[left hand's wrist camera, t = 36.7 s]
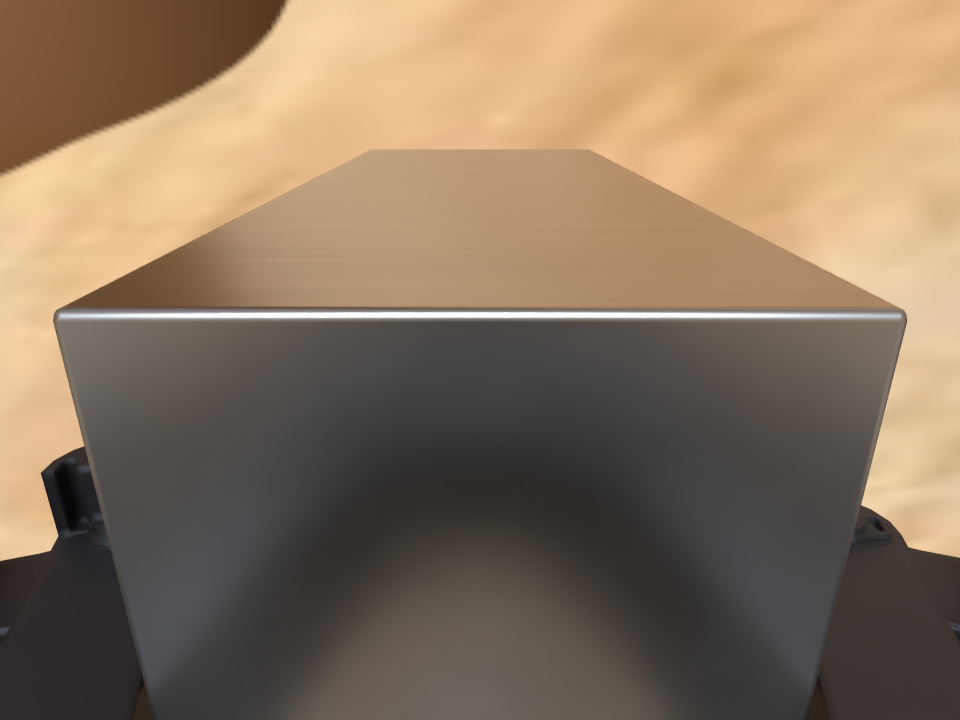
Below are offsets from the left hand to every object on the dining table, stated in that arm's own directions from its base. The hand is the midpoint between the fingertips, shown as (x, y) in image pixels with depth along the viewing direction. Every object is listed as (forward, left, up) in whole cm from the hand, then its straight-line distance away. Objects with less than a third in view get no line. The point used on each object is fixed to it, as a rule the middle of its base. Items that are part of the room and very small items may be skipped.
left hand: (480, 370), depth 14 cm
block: (0, 0, -2) cm, 2 cm away
